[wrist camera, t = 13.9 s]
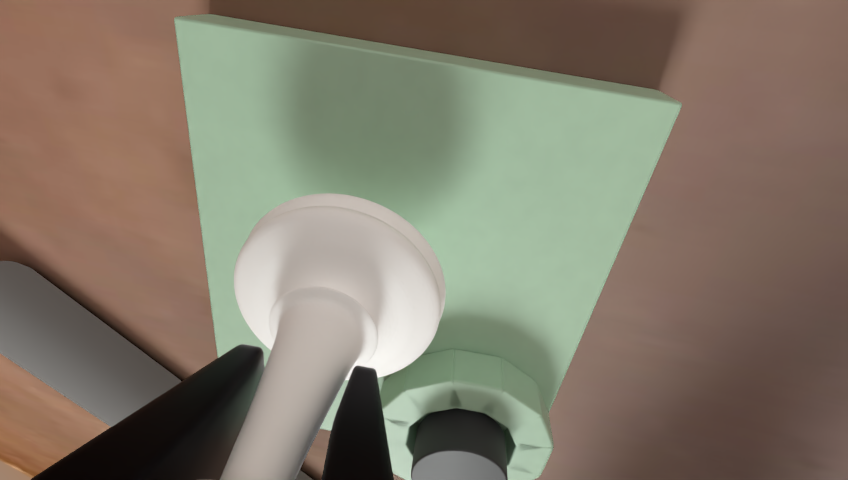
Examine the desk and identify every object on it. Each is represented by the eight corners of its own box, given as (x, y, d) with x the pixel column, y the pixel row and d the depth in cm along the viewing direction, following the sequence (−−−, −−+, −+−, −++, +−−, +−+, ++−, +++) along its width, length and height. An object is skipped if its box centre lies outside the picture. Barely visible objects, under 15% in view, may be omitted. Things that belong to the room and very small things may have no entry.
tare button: (494, 471, 16) (495, 516, 14) (411, 455, 16) (405, 499, 14) (514, 416, 14) (518, 460, 13) (423, 399, 14) (417, 441, 13)
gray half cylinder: (304, 531, 24) (292, 568, 23) (-38, 296, 18) (-87, 325, 16) (359, 511, 23) (351, 548, 21) (4, 243, 16) (-45, 269, 15)
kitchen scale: (519, 438, 19) (526, 511, 16) (243, 387, 19) (205, 450, 16) (659, 89, 11) (712, 118, 9) (208, 13, 12) (131, 19, 9)
